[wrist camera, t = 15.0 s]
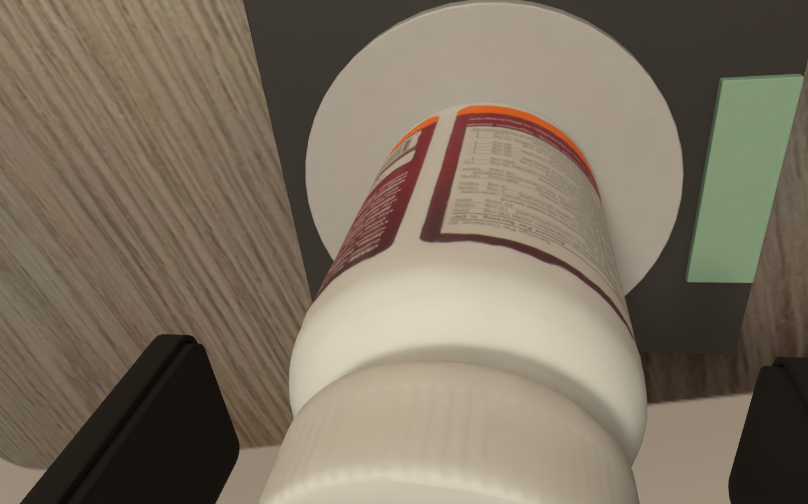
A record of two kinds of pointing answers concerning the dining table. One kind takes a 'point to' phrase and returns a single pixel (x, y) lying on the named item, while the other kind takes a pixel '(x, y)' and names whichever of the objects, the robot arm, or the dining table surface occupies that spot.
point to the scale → (559, 123)
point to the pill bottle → (469, 332)
